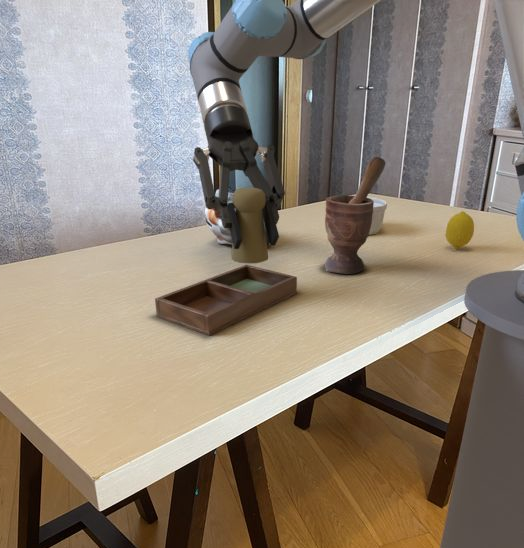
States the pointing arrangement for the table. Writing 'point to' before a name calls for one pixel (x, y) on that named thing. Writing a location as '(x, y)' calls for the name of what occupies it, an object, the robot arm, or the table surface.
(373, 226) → the ramekin
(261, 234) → the olive pepper mill
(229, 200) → the lucky cat figurine
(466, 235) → the lemon
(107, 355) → the table surface
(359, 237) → the mortar and pestle
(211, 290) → the divided wooden tray
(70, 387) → the table surface
